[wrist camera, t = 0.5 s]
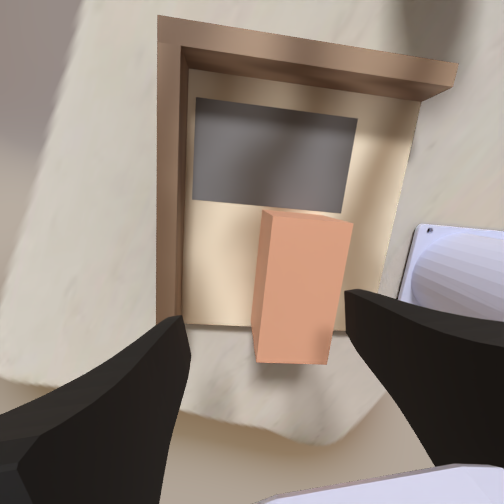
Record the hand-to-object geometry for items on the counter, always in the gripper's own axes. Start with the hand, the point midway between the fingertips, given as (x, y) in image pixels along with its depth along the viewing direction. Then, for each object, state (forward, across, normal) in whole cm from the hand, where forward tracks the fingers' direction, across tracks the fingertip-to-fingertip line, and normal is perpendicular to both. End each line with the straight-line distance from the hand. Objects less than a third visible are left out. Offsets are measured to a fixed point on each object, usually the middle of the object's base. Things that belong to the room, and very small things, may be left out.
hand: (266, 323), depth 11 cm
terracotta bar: (+8, -2, +1) cm, 9 cm away
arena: (+9, -3, -4) cm, 11 cm away
